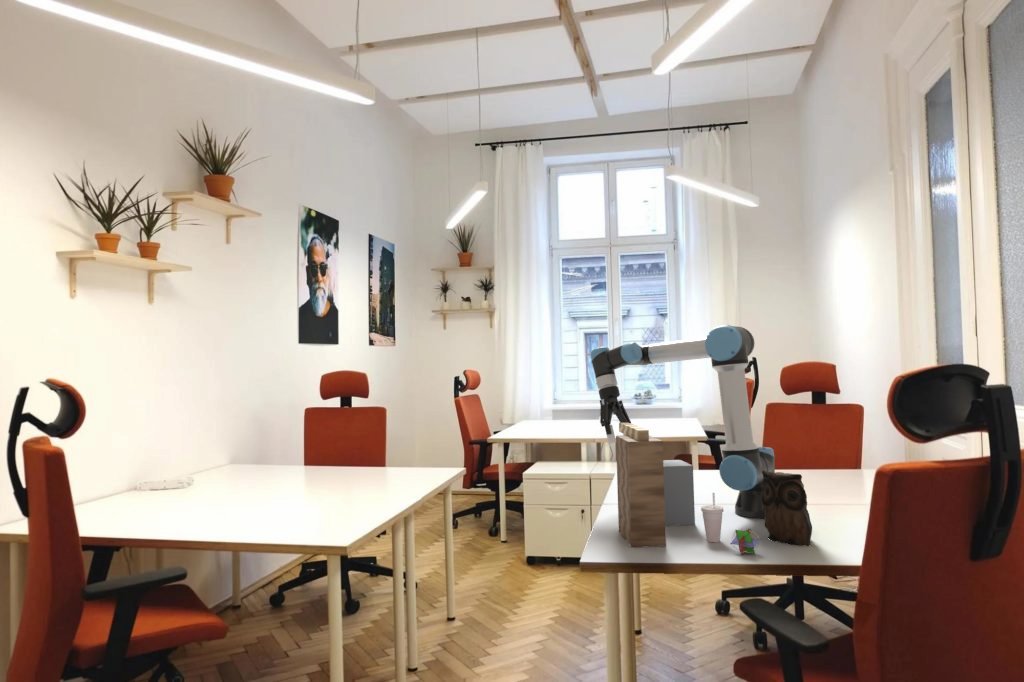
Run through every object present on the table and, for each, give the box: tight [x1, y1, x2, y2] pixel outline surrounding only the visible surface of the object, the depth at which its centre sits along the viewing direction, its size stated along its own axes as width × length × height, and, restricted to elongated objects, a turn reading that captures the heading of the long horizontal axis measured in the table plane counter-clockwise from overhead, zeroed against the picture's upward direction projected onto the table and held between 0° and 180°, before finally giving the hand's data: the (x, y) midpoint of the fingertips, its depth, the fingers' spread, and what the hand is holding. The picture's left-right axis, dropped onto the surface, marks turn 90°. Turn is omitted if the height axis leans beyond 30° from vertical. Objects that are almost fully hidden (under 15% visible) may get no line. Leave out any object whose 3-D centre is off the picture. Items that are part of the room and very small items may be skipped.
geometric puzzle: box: [729, 527, 761, 556], centre depth 180 cm, size 7×7×8 cm
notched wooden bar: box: [618, 422, 650, 441], centre depth 206 cm, size 28×3×3 cm, turn 2°
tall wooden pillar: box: [615, 434, 667, 548], centre depth 199 cm, size 18×10×30 cm, turn 2°
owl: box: [762, 470, 813, 547], centre depth 193 cm, size 13×13×20 cm
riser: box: [663, 459, 696, 526], centre depth 220 cm, size 14×10×19 cm
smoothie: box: [700, 492, 724, 543], centre depth 194 cm, size 6×6×14 cm
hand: (621, 443), depth 242 cm, fingers open, 13 cm apart
